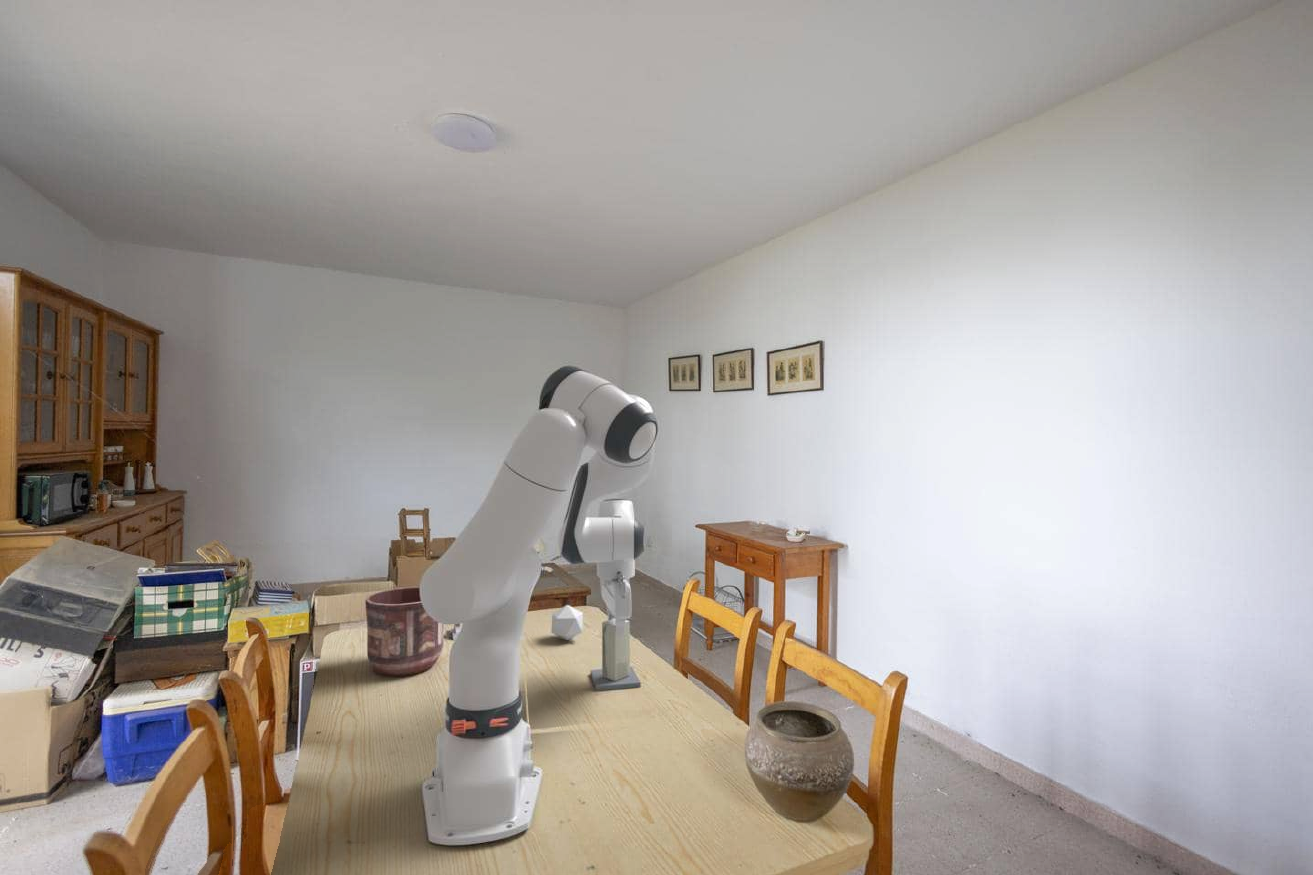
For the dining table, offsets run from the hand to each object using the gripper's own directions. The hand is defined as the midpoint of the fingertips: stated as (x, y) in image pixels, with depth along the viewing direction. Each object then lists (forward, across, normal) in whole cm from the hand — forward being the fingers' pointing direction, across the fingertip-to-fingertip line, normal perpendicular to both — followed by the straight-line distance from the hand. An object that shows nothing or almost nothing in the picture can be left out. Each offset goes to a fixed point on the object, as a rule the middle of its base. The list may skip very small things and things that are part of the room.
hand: (615, 627), depth 141 cm
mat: (+12, 0, 0) cm, 12 cm away
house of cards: (+13, +39, +40) cm, 57 cm away
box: (+11, 0, 0) cm, 11 cm away
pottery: (+12, +18, +48) cm, 53 cm away
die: (+12, +31, +8) cm, 34 cm away
